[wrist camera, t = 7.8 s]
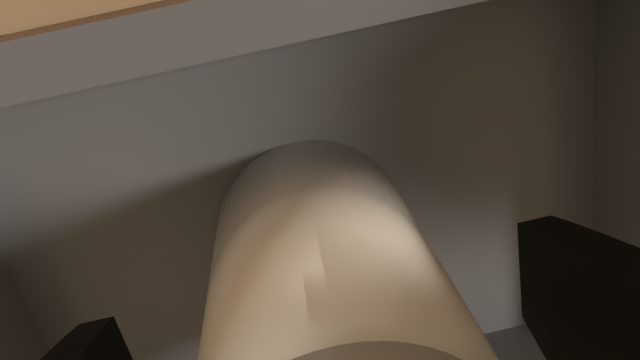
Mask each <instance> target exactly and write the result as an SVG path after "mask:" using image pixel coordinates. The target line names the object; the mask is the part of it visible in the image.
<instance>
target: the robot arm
mask: <svg viewBox="0 0 640 360" xmlns="http://www.w3.org/2000/svg"><path fill="white" fill-rule="evenodd" d="M517 230H518V249H519V268H520V287H521V306H522V317H523V319H524V321H525V322H526V324H527V326H528V328H529V330H530V332H531V333H532V335H533V337H534V339H535V341H536V343H537V344H538V346H539V348H540V350H541V351H542V353H543V355H544V356H545V358H546V360H640V248H639V247H637V246H634V245H631V244H629V243H626V242H623V241H621V240H618V239H616V238H613V237H610V236H608V235H605V234H603V233H600V232H597V231H595V230H592V229H589V228H587V227H584V226H581V225H579V224H576V223H573V222H570V221H567V220H564V219H561V218H558V217H555V216H551V215H550V216H546V217H542V218H537V219H533V220H529V221H524V222H520V223H517ZM40 360H133V359H132V356H131V354H130V352H129V350H128V347H127V345H126V343H125V341H124V338H123V336H122V334H121V331H120V329H119V327H118V325H117V322H116V320H115V318H114V316H112V317H107V318H103V319H99V320H94V321H90V322H86V323H81V324H79V325H77V326H76V327H75V328H74V329H73V330H71V331H70V332H69V333H68V334H67V335H66V336H65V337H63V338H62V339H61V340H60V341H59V342H58V343H57V344H56V345H55V346H54V347H53V348H52V349H51V350H50V351H49V352H48V353H47V354H46V355H45V356H44V357H43V358H42V359H40Z"/></svg>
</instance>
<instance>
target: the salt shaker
mask: <svg viewBox="0 0 640 360" xmlns="http://www.w3.org/2000/svg"><path fill="white" fill-rule="evenodd" d="M197 360H499V359H498V357H497V355H496V354H495V352H494V350H493V349H492V347H491V345H490V344H489V342H488V340H487V339H486V337H485V335H484V334H483V332H482V330H481V329H480V327H479V325H478V324H477V322H476V320H475V319H474V317H473V315H472V314H471V312H470V310H469V309H468V307H467V305H466V304H465V302H464V300H463V299H462V297H461V295H460V294H459V292H458V290H457V289H456V287H455V285H454V284H453V282H452V280H451V279H450V277H449V275H448V274H447V272H446V270H445V269H444V267H443V265H442V264H441V262H440V260H439V259H438V257H437V255H436V254H435V252H434V250H433V249H432V247H431V245H430V244H429V242H428V240H427V239H426V237H425V235H424V234H423V232H422V230H421V229H420V227H419V225H418V224H417V222H416V220H415V219H414V217H413V215H412V214H411V212H410V210H409V209H408V207H407V205H406V204H405V202H404V200H403V199H402V197H401V195H400V194H399V192H398V190H397V189H396V187H395V185H394V184H393V182H392V180H391V179H390V178H389V176H388V175H387V173H386V172H385V171H384V170H383V169H382V168H381V166H380V165H379V164H378V163H376V162H375V161H374V160H373V159H371V158H370V157H369V156H367V155H366V154H364V153H362V152H361V151H359V150H357V149H355V148H352V147H350V146H347V145H344V144H340V143H337V142H331V141H324V140H306V141H297V142H293V143H289V144H284V145H282V146H279V147H276V148H274V149H271V150H269V151H267V152H266V153H264V154H262V155H260V156H259V157H257V158H256V159H254V160H253V161H252V162H250V163H249V164H248V165H247V166H246V167H245V168H244V169H243V170H242V171H241V172H240V173H239V174H238V175H237V176H236V178H235V179H234V180H233V182H232V183H231V185H230V186H229V188H228V190H227V192H226V194H225V196H224V198H223V201H222V204H221V208H220V212H219V218H218V225H217V231H216V238H215V245H214V252H213V258H212V265H211V272H210V278H209V285H208V292H207V299H206V305H205V312H204V319H203V325H202V332H201V339H200V346H199V352H198V359H197Z"/></svg>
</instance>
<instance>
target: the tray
mask: <svg viewBox="0 0 640 360" xmlns="http://www.w3.org/2000/svg"><path fill="white" fill-rule="evenodd" d="M306 140H324V141H331V142H337V143H340V144H344V145H347V146H350V147H352V148H355V149H357V150H359V151H361V152H362V153H364V154H366V155H367V156H369V157H370V158H371V159H373V160H374V161H375V162H376V163H378V164H379V165H380V166H381V168H382V169H383V170H384V171H385V172H386V173H387V175H388V176H389V178H390V179H391V180H392V182H393V184H394V185H395V187H396V189H397V190H398V192H399V194H400V195H401V197H402V199H403V200H404V202H405V204H406V205H407V207H408V209H409V210H410V212H411V214H412V215H413V217H414V219H415V220H416V222H417V224H418V225H419V227H420V229H421V230H422V232H423V234H424V235H425V237H426V239H427V240H428V242H429V244H430V245H431V247H432V249H433V250H434V252H435V254H436V255H437V257H438V259H439V260H440V262H441V264H442V265H443V267H444V269H445V270H446V272H447V274H448V275H449V277H450V279H451V280H452V282H453V284H454V285H455V287H456V289H457V290H458V292H459V294H460V295H461V297H462V299H463V300H464V302H465V304H466V305H467V307H468V309H469V310H470V312H471V314H472V315H473V317H474V319H475V320H476V322H477V324H478V325H479V327H480V329H481V330H482V332H483V334H484V335H485V337H486V339H487V340H488V342H489V344H490V345H491V347H492V349H493V350H494V352H495V354H496V355H497V357H498V359H499V360H546V358H545V356H544V355H543V353H542V351H541V350H540V348H539V346H538V344H537V343H536V341H535V339H534V337H533V335H532V333H531V332H530V330H529V328H528V326H527V324H526V322H525V321H524V319H523V317H522V306H521V287H520V268H519V249H518V230H517V223H520V222H524V221H529V220H533V219H537V218H542V217H546V216H550V215H551V216H555V217H558V218H561V219H564V220H567V221H570V222H573V223H576V224H579V225H581V226H584V227H587V228H589V229H592V230H595V231H597V232H600V233H603V234H605V235H608V236H610V237H613V238H616V239H618V240H621V241H623V242H626V243H629V244H631V245H634V246H637V247H639V248H640V0H164V1H159V2H155V3H150V4H146V5H141V6H136V7H132V8H127V9H123V10H118V11H113V12H109V13H104V14H100V15H95V16H90V17H86V18H81V19H77V20H72V21H67V22H63V23H58V24H54V25H49V26H44V27H40V28H35V29H31V30H26V31H21V32H17V33H12V34H8V35H3V36H0V360H40V359H42V358H43V357H44V356H45V355H46V354H47V353H48V352H49V351H50V350H51V349H52V348H53V347H54V346H55V345H56V344H57V343H58V342H59V341H60V340H61V339H62V338H63V337H65V336H66V335H67V334H68V333H69V332H70V331H71V330H73V329H74V328H75V327H76V326H77V325H79V324H81V323H86V322H90V321H94V320H99V319H103V318H107V317H112V316H114V318H115V320H116V322H117V325H118V327H119V329H120V331H121V334H122V336H123V338H124V341H125V343H126V345H127V347H128V350H129V352H130V354H131V356H132V359H133V360H197V359H198V352H199V346H200V339H201V332H202V325H203V319H204V312H205V305H206V299H207V292H208V285H209V278H210V272H211V265H212V258H213V252H214V245H215V238H216V231H217V225H218V218H219V212H220V208H221V204H222V201H223V198H224V196H225V194H226V192H227V190H228V188H229V186H230V185H231V183H232V182H233V180H234V179H235V178H236V176H237V175H238V174H239V173H240V172H241V171H242V170H243V169H244V168H245V167H246V166H247V165H248V164H249V163H250V162H252V161H253V160H254V159H256V158H257V157H259V156H260V155H262V154H264V153H266V152H267V151H269V150H271V149H274V148H276V147H279V146H282V145H284V144H289V143H293V142H297V141H306Z"/></svg>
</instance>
